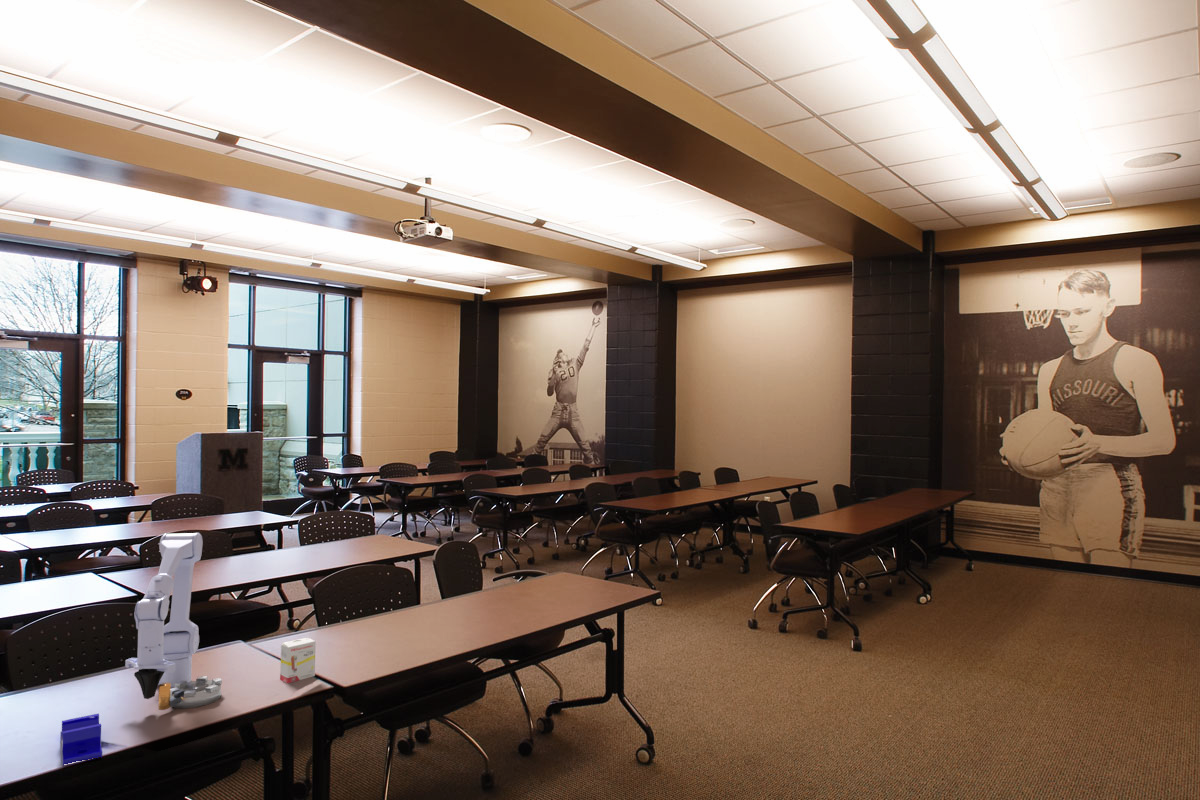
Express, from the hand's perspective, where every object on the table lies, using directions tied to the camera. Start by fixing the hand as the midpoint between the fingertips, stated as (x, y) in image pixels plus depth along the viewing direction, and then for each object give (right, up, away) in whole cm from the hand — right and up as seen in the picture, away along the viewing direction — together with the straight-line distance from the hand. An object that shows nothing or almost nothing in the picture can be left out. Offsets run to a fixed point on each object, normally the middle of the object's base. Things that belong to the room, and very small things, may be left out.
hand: (149, 697), depth 186 cm
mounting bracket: (-5, -5, -17) cm, 19 cm away
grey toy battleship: (+7, -4, +6) cm, 10 cm away
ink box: (+28, -6, +25) cm, 38 cm away
